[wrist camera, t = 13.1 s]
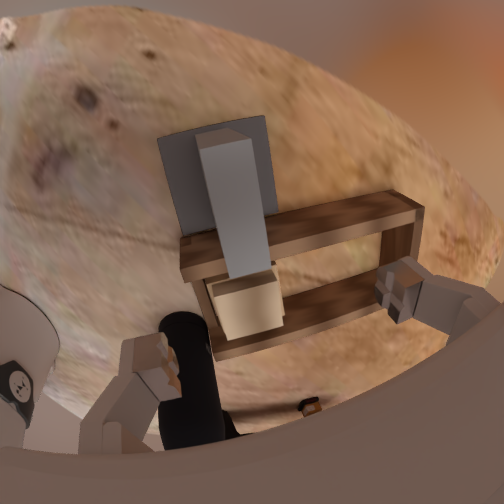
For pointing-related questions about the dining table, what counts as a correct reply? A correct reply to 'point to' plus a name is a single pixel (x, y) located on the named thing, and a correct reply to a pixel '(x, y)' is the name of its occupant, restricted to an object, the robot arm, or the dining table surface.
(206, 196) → the flat gray square tile
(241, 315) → the offcut top
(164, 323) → the wine bottle
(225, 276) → the block
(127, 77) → the dining table surface
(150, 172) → the dining table surface
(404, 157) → the dining table surface
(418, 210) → the wooden box
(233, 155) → the gray rectangular block
